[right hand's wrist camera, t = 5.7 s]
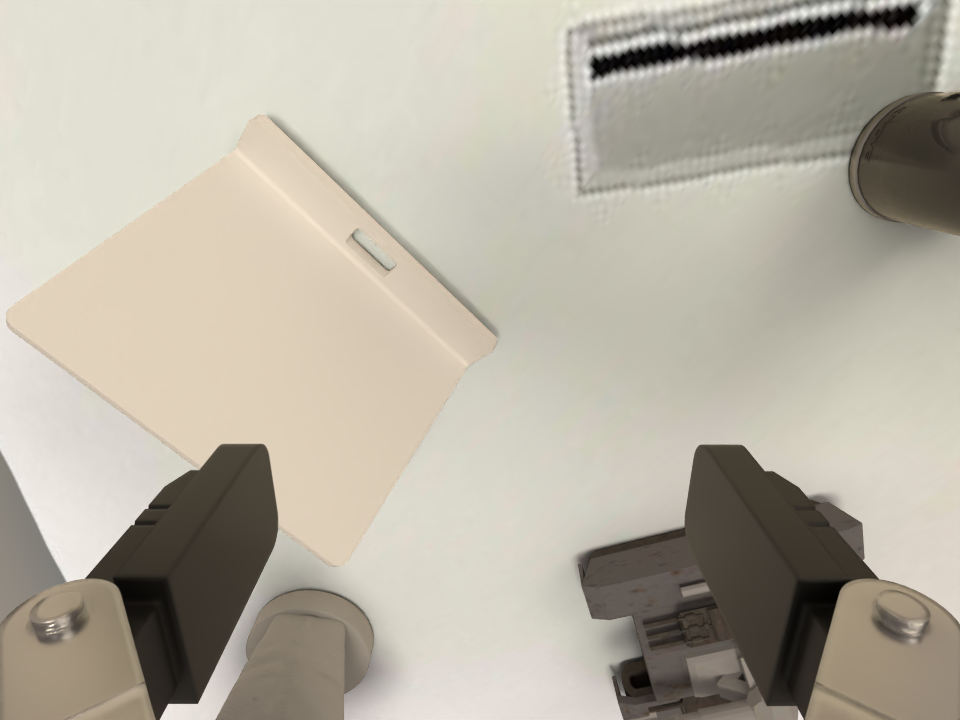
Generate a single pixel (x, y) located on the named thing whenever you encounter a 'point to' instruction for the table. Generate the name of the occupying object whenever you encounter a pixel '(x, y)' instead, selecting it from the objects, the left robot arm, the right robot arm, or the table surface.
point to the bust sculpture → (301, 659)
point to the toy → (681, 630)
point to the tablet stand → (265, 334)
